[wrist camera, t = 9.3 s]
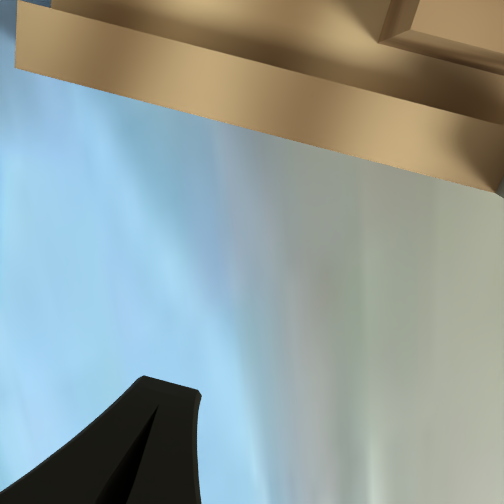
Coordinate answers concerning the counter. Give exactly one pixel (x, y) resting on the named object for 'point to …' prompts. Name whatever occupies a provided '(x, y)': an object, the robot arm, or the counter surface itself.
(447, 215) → the counter surface
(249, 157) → the counter surface
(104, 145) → the counter surface
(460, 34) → the crate
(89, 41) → the wooden base
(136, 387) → the robot arm
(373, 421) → the counter surface
